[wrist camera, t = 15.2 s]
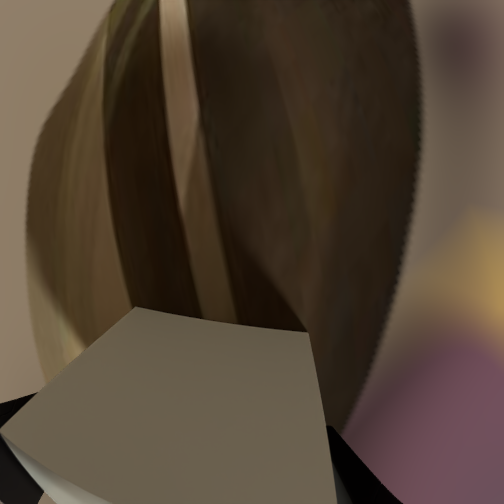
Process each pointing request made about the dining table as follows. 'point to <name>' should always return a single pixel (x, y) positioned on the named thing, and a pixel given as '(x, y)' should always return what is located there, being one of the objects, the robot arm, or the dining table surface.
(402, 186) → the dining table surface
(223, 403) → the white rectangular box
